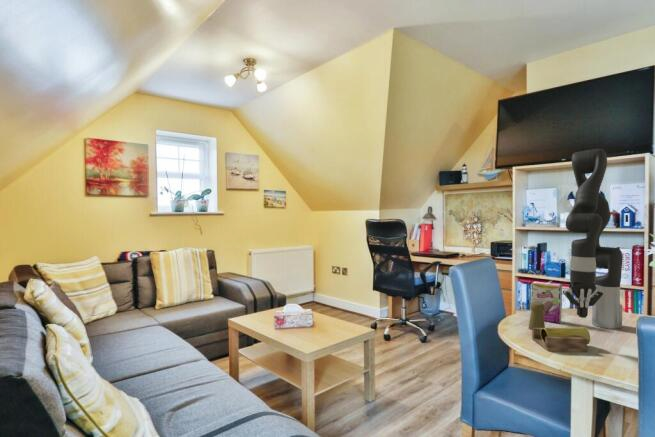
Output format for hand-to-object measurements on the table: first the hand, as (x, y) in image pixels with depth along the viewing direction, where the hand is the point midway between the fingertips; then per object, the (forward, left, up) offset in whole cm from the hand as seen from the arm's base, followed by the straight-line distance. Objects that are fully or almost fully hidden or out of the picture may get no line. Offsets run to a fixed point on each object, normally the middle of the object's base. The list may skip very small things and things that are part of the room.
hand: (582, 317), depth 130 cm
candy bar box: (-3, -31, -11) cm, 33 cm away
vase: (-1, 0, -7) cm, 7 cm away
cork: (+7, -18, -11) cm, 22 cm away
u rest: (+8, 0, -10) cm, 13 cm away
